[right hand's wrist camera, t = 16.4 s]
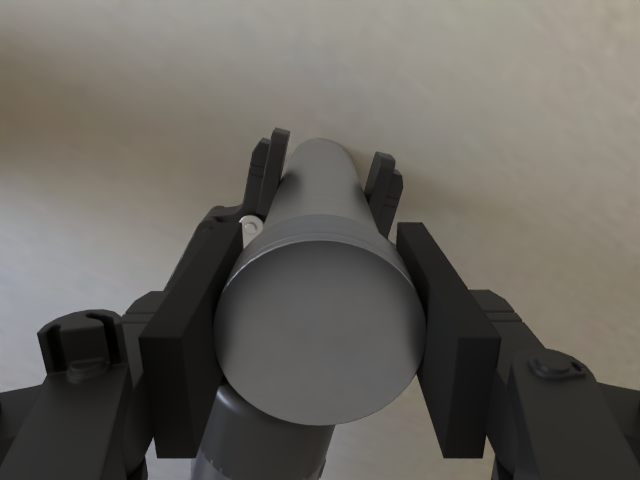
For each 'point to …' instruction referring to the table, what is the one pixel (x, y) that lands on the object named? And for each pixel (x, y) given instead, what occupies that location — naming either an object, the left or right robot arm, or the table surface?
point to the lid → (319, 321)
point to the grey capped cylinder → (319, 185)
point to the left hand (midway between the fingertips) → (334, 145)
